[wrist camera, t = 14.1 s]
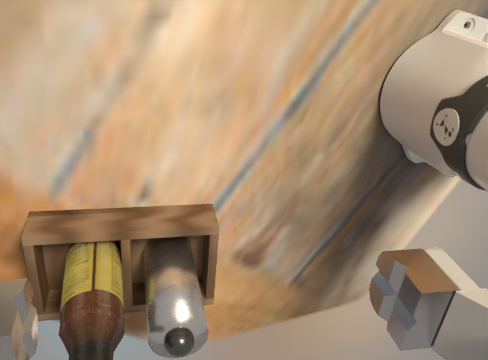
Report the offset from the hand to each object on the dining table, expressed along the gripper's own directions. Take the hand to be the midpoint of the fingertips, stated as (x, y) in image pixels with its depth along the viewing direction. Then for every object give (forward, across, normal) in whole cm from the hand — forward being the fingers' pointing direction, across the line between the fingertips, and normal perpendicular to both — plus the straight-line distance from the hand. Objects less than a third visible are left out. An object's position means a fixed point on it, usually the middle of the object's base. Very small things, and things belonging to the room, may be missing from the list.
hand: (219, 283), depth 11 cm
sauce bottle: (+38, +6, +28) cm, 48 cm away
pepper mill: (+39, -2, +29) cm, 49 cm away
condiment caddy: (+39, +3, +29) cm, 49 cm away
